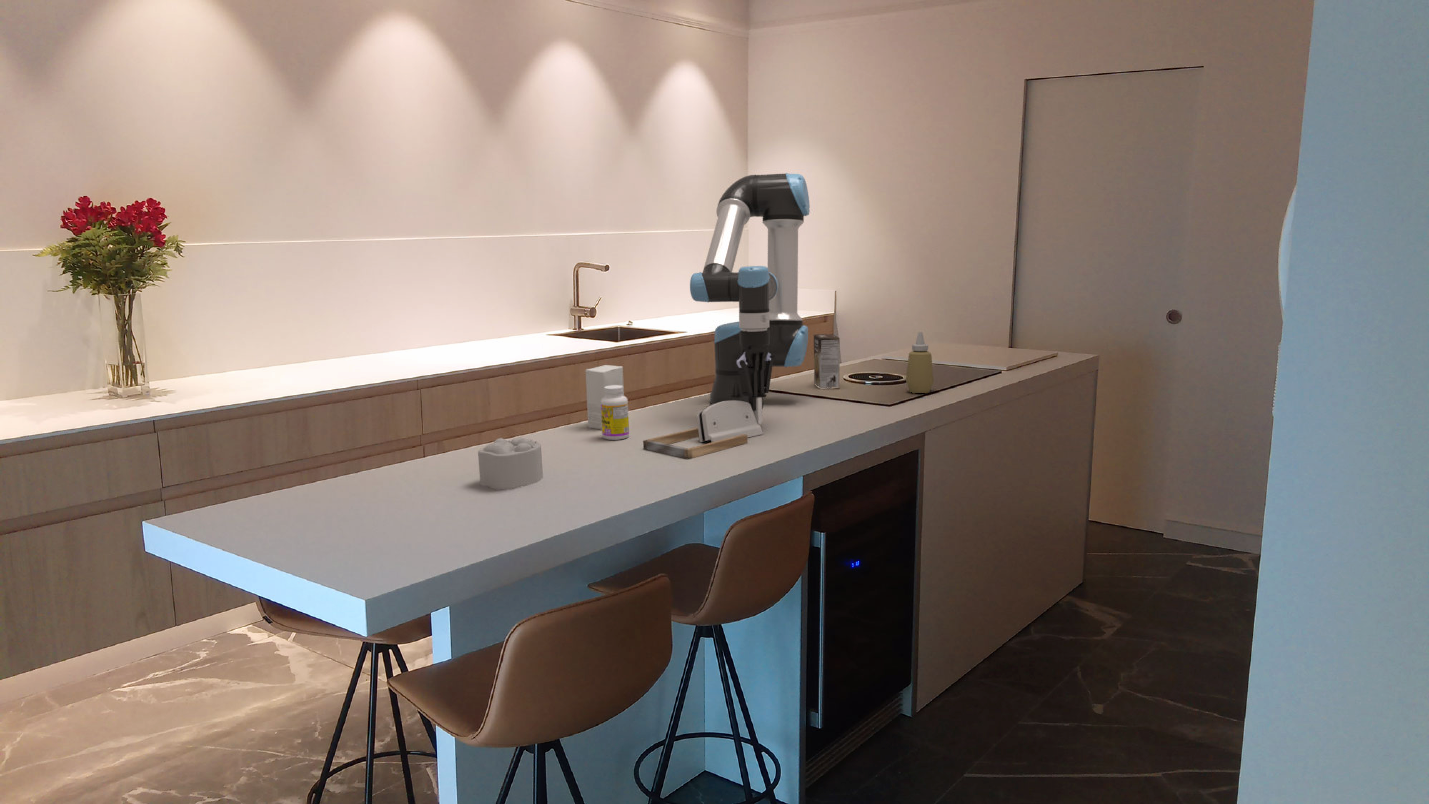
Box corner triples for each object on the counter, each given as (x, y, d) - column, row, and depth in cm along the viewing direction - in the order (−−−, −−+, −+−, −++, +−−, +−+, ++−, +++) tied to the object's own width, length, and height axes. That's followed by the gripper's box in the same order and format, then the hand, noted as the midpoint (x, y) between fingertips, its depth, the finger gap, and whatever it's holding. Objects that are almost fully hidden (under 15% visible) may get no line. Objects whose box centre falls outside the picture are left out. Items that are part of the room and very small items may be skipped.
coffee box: (813, 384, 304) (813, 334, 301) (833, 384, 304) (833, 333, 301) (819, 390, 295) (819, 337, 292) (840, 389, 295) (840, 337, 292)
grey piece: (712, 445, 226) (702, 404, 227) (700, 448, 230) (690, 408, 231) (764, 433, 237) (754, 394, 238) (752, 437, 240) (742, 398, 241)
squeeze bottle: (912, 389, 292) (913, 330, 289) (937, 391, 287) (938, 331, 284) (901, 393, 286) (901, 333, 282) (926, 395, 281) (927, 334, 277)
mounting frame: (643, 448, 225) (643, 440, 225) (702, 434, 239) (702, 426, 238) (688, 459, 215) (688, 450, 214) (747, 443, 228) (747, 434, 228)
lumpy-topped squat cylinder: (474, 483, 199) (470, 443, 197) (523, 470, 209) (521, 431, 207) (505, 492, 192) (502, 450, 191) (555, 477, 202) (552, 437, 200)
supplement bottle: (599, 436, 239) (596, 385, 237) (624, 433, 242) (622, 383, 239) (607, 441, 233) (604, 390, 231) (632, 438, 236) (630, 387, 233)
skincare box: (608, 422, 256) (605, 364, 253) (627, 424, 252) (624, 366, 249) (586, 428, 249) (583, 368, 246) (605, 430, 245) (603, 370, 242)
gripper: (748, 333, 229) (750, 429, 234) (783, 327, 238) (784, 420, 243) (725, 331, 235) (727, 425, 239) (760, 325, 244) (762, 416, 248)
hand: (756, 422), depth 241 cm, fingers closed
